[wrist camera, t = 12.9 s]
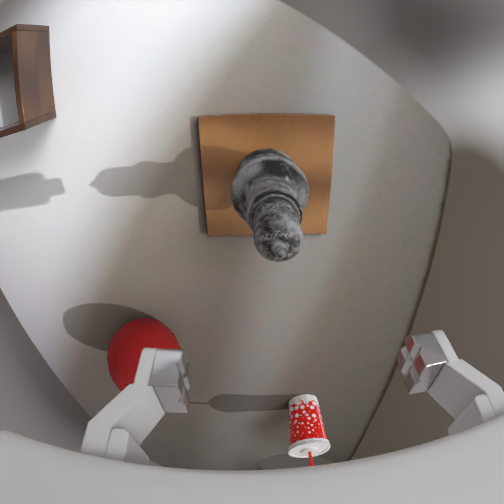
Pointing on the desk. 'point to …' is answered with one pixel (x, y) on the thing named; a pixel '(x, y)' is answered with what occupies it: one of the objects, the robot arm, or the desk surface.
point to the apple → (136, 347)
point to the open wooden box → (30, 75)
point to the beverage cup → (306, 428)
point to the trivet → (262, 137)
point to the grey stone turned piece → (271, 202)
